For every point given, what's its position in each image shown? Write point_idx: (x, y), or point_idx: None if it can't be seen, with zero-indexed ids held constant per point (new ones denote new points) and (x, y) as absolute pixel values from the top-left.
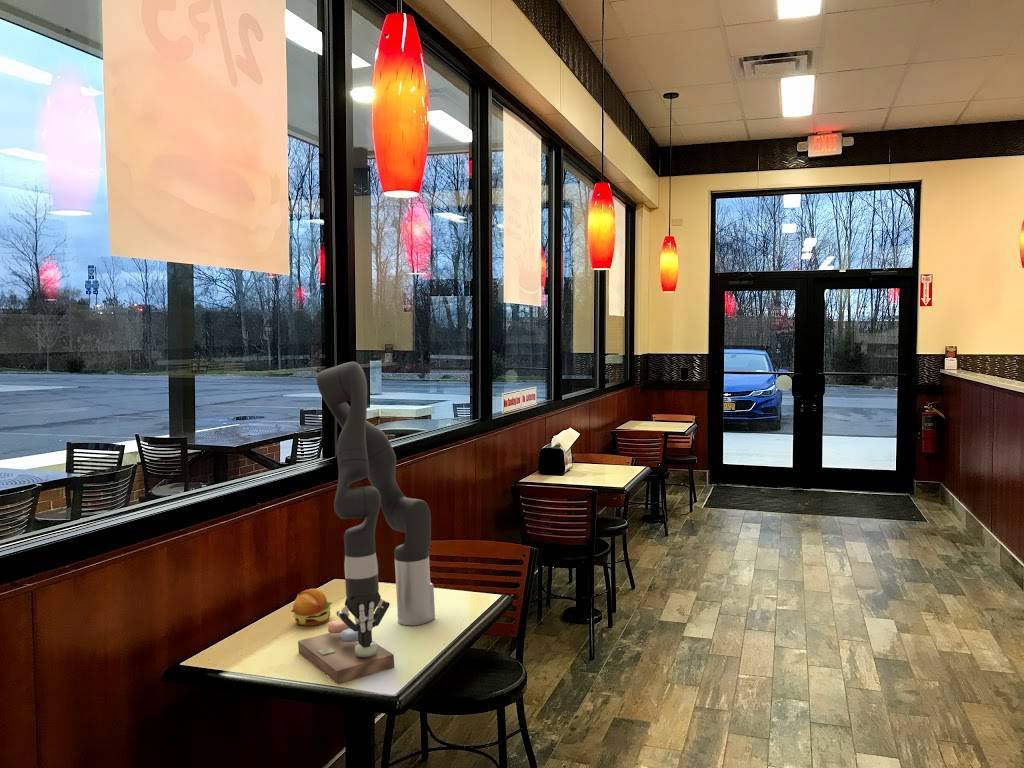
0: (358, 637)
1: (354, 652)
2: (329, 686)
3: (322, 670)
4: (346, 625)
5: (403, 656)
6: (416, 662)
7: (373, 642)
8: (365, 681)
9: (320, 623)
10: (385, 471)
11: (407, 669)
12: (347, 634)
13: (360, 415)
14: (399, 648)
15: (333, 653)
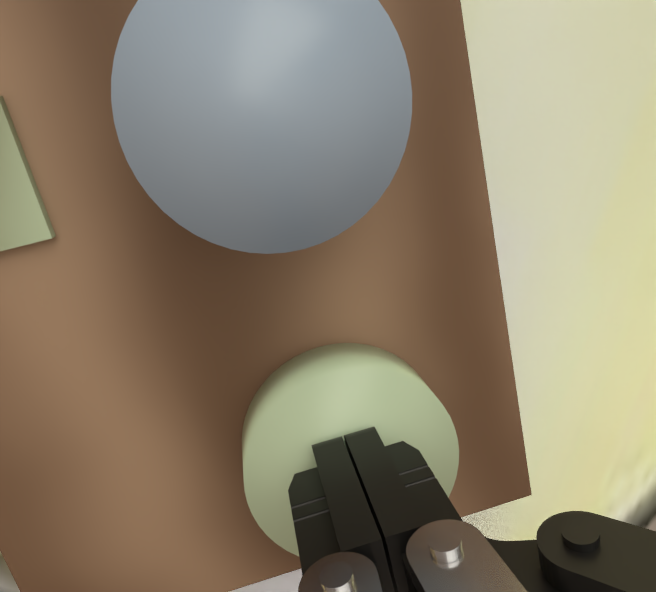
0: (297, 534)
1: (249, 319)
2: (15, 581)
3: None
4: None
5: (600, 286)
6: (629, 421)
7: (444, 410)
8: (264, 582)
9: None
10: None
11: (544, 502)
12: (200, 188)
13: None
14: (635, 111)
15: (37, 255)
